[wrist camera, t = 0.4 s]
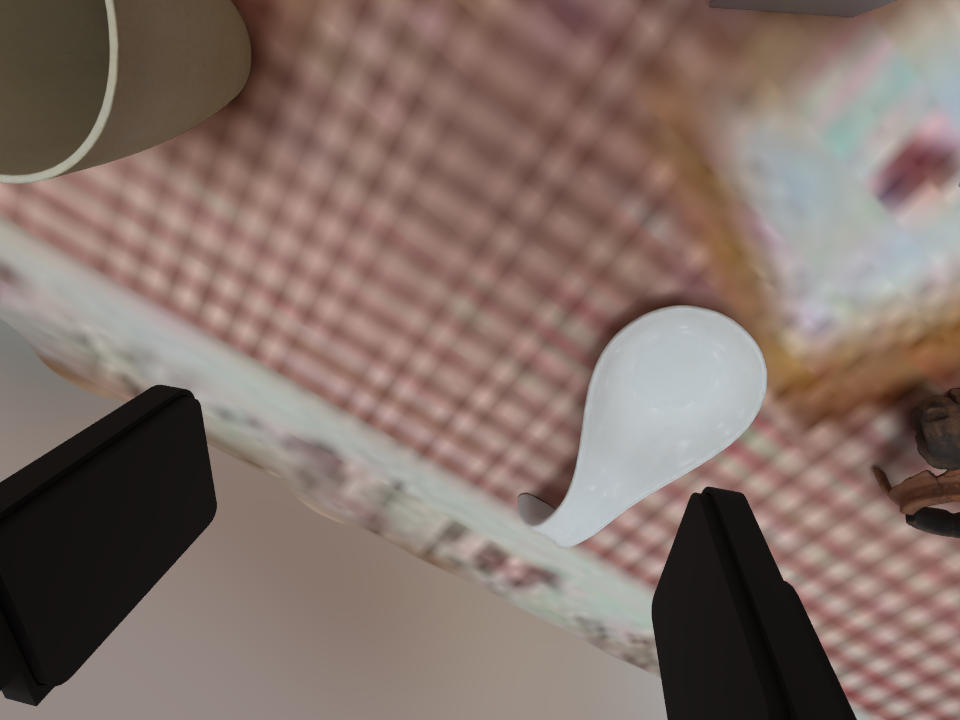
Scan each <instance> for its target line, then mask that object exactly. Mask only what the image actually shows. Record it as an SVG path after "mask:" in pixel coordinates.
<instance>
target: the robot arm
mask: <svg viewBox="0 0 960 720" xmlns="http://www.w3.org/2000/svg"><path fill="white" fill-rule="evenodd" d="M216 509H217V502H216V497H215V490H214V484H213V478H212V471H211V465H210V459H209V453H208V447H207V441H206V435H205V429H204V422H203V416H202V410H201V405H200V402H199V401H198V400H197V399H195V398H194V395H193V394H192V392H191V391H189V390H187V389H181V388H176V387H171V386H165V385H156V386H153V387H151V388H149V389H148V390H146V391H145V392H143V393H142V394H140V395H138V396H137V397H135V398H134V399H132V400H130V401H129V402H127V403H126V404H124V405H122V406H121V407H119V408H118V409H116V410H115V411H113V412H111V413H110V414H108V415H107V416H105V417H104V418H102V419H100V420H99V421H97V422H95V423H94V424H92V425H91V426H90V427H88V428H86V429H84V430H83V431H81V432H80V433H78V434H76V435H75V436H74V437H72V438H70V439H68V440H67V441H65V442H64V443H62V444H61V445H59V446H58V447H56V448H54V449H53V450H51V451H49V452H48V453H46V454H45V455H43V456H42V457H40V458H38V459H37V460H35V461H34V462H32V463H30V464H29V465H27V466H26V467H24V468H22V469H21V470H19V471H18V472H16V473H15V474H13V475H11V476H10V477H8V478H7V479H5V480H3V481H2V482H0V691H1V690H2V692H3V694H4V696H5V698H7V699H11V700H15V701H18V702H22V703H26V704H30V705H33V706H37V705H38V704H39V703H40V702H41V701H42V700H43V699H44V698H45V696H46V695H47V694H48V693H49V692H50V691H51V690H52V689H53V688H54V687H55V686H58V685H61V684H63V683H64V682H66V681H67V680H69V678H71V677H72V676H73V675H74V674H75V672H76V671H77V670H78V669H79V668H80V667H81V666H82V665H83V664H84V662H85V661H86V660H87V659H88V658H89V657H90V656H91V655H92V654H93V653H94V651H95V650H96V649H97V648H98V647H99V646H100V645H101V644H102V642H103V641H104V640H105V639H106V638H107V637H108V636H109V635H110V633H112V631H113V630H114V629H115V628H116V627H117V626H118V625H119V624H120V623H121V622H122V621H123V619H124V618H125V617H126V616H127V615H128V614H129V613H130V612H131V611H132V609H133V608H134V607H135V606H136V605H137V604H138V603H139V602H140V601H141V600H142V598H143V597H144V596H145V595H146V594H147V593H148V592H149V591H150V590H151V588H152V587H153V586H154V585H155V584H156V583H157V582H158V581H159V579H161V577H162V576H163V575H164V574H165V573H166V572H167V571H168V570H169V568H170V567H171V566H172V565H173V564H174V563H175V562H176V561H177V560H178V558H179V557H180V556H181V555H182V554H183V553H184V552H185V551H186V550H187V549H188V547H189V546H190V545H191V544H192V543H193V542H194V541H195V540H196V539H197V538H198V536H199V535H200V534H201V533H202V532H203V531H204V530H205V529H206V528H207V526H208V525H209V524H210V523H211V522H212V520H213V518H214V516H215V513H216ZM652 622H653V628H654V635H655V641H656V647H657V654H658V660H659V667H660V673H661V680H662V686H663V692H664V699H665V705H666V711H667V718H668V720H857V719H856V717H855V715H854V713H853V711H852V708H851V706H850V704H849V702H848V700H847V698H846V696H845V694H844V691H843V689H842V687H841V685H840V683H839V681H838V679H837V677H836V674H835V672H834V670H833V668H832V666H831V664H830V662H829V660H828V658H827V655H826V653H825V651H824V649H823V647H822V645H821V643H820V641H819V638H818V636H817V634H816V632H815V630H814V628H813V626H812V624H811V621H810V619H809V617H808V615H807V613H806V611H805V609H804V607H803V605H802V602H801V600H800V598H799V596H798V594H797V593H796V591H795V590H794V588H793V586H791V585H790V584H789V583H788V582H786V581H784V580H783V578H782V576H781V574H780V572H779V569H778V567H777V565H776V563H775V561H774V558H773V556H772V554H771V552H770V550H769V547H768V545H767V543H766V541H765V539H764V536H763V534H762V532H761V530H760V528H759V525H758V523H757V521H756V519H755V517H754V514H753V512H752V510H751V508H750V506H749V503H748V501H747V499H746V497H745V496H744V494H742V493H740V492H735V491H730V490H724V489H719V488H714V487H706V488H705V489H704V490H703V491H702V493H701V494H700V493H693V494H692V495H691V497H690V499H689V502H688V505H687V507H686V510H685V513H684V516H683V518H682V521H681V524H680V526H679V529H678V532H677V534H676V537H675V540H674V543H673V545H672V548H671V551H670V553H669V556H668V559H667V561H666V564H665V567H664V570H663V572H662V575H661V578H660V580H659V583H658V586H657V589H656V591H655V594H654V597H653V602H652Z"/></svg>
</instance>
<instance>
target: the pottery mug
mask: <svg viewBox="0 0 960 720" xmlns="http://www.w3.org/2000/svg"><path fill="white" fill-rule="evenodd" d="M949 394H950V396H951V397H952V398H953V399H954V400H955V403H954V402H953V401H952V400H951V399H950V398H948V397H940V396H932V397H930V398H926V399H924V400H922V402H921V403H920V404H919V405H918V407H916V408H915V409H914V410H913V411H912V412H911V413H910V416H911V422H912V424H913V426H914V429H915V431H916V436H915V439H916V442H917V450H918V452H919V454H920V455H921V456H922V457H923V458H924V459H925V460H926V461H927V463H928V464H929V465H931V466H932V467H934V468H937V469H947V471H946V472H945V473H943V474H941V475H939V476H935V475H934V474H933V473H932V472H931V471H929V470H925V471H922V472H920V473H919V474H917V475H915V476H913V477H909V478H907V479H905V480H904V481H903V482H902V483H901V484H899V485H896V486H894V487H893V488H892V487H891V486H890V484H889V481H888V479H887V476H886V474H885V473H884V472H883V471H882V470H880V469H878V468H874V472H875V474H876V478H877V480H878V482H879V484H880V487H881V488H882V490H883V491H884V492H885V493H886V494H887V495H888V496H889V497H890V498H891V499H892V500H893V501H894V502H895V503H896V504H897V505H899V506H900V512H901V513H903V514H906V523H907V524H908V525H910V526H912V527H914V528H916V529H919V530H922V531H925V532H928V533H932V534H936V535H941V536H947V537H955V538H960V512H958V513H954V514H952V513H950V512H949V511H947V510H943V509H938V508H930V507H927V506H930V505H935V504H942V503H948V502H953V501H955V502H960V389H951V390H950V391H949Z"/></svg>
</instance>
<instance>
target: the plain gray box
mask: <svg viewBox="0 0 960 720" xmlns="http://www.w3.org/2000/svg"><path fill="white" fill-rule="evenodd" d="M894 1H897V0H711V1H710V6H709V7H717V8H731V9H745V10H759V11H772V12H786V13H800V14H814V15H828V16H842V17H854V16H857V15H859V14H862V13H865V12H867V11H870V10H873V9H875V8H878V7H881V6H883V5H886V4H889V3H891V2H894Z"/></svg>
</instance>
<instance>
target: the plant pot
mask: <svg viewBox="0 0 960 720" xmlns="http://www.w3.org/2000/svg"><path fill="white" fill-rule="evenodd" d="M251 55H252V54H251V43H250V38H249V35H248V31H247V28H246V25H245V23H244V21H243V19H242V17H241V15H240V13H239V12H238V10H237V8H236V7H235V5H234V4H233V3H232V1H231V0H0V182H3V183H16V184H20V183H33V182H39V181H43V180H47V179H51V178H54V177H58V176H62V175H65V174H69V173H73V172H76V171H80V170H84V169H87V168H91V167H94V166H98V165H101V164H105V163H108V162H111V161H114V160H117V159H120V158H123V157H126V156H129V155H132V154H135V153H138V152H141V151H143V150H146V149H148V148H151V147H153V146H156V145H158V144H161V143H163V142H165V141H167V140H169V139H172V138H174V137H176V136H178V135H180V134H182V133H184V132H186V131H187V130H189V129H191V128H193V127H195V126H196V125H198V124H200V123H202V122H203V121H205V120H206V119H208V118H209V117H211V116H212V115H214V114H215V113H217V112H218V111H219V110H221V109H222V108H223V107H224V106H226V105H227V104H228V103H229V102H230V101H232V100H233V99H234V98H235V97H236V96H237V95H238V94H239V93H240V92H241V90H242V89H243V88H244V86H245V84H246V82H247V79H248V77H249V73H250V69H251Z"/></svg>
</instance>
